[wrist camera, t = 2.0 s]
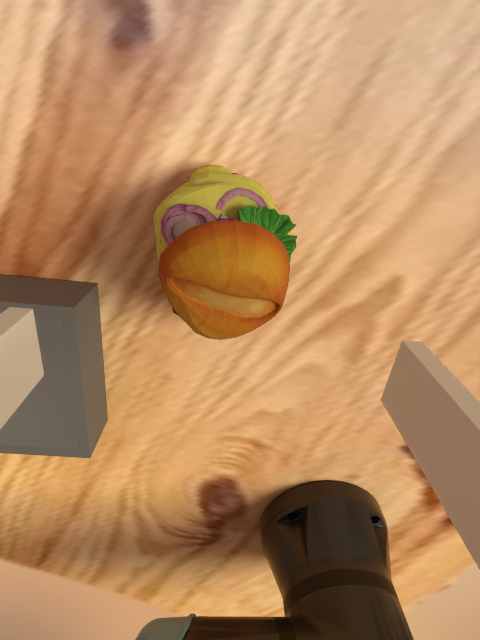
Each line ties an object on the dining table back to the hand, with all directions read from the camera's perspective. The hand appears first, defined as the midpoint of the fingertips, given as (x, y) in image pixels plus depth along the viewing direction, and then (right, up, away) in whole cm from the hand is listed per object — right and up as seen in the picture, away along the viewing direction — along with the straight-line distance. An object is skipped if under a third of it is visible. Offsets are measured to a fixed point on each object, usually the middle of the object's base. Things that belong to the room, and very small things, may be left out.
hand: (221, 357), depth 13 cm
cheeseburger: (0, +8, +16) cm, 18 cm away
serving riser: (-20, -2, +20) cm, 28 cm away
